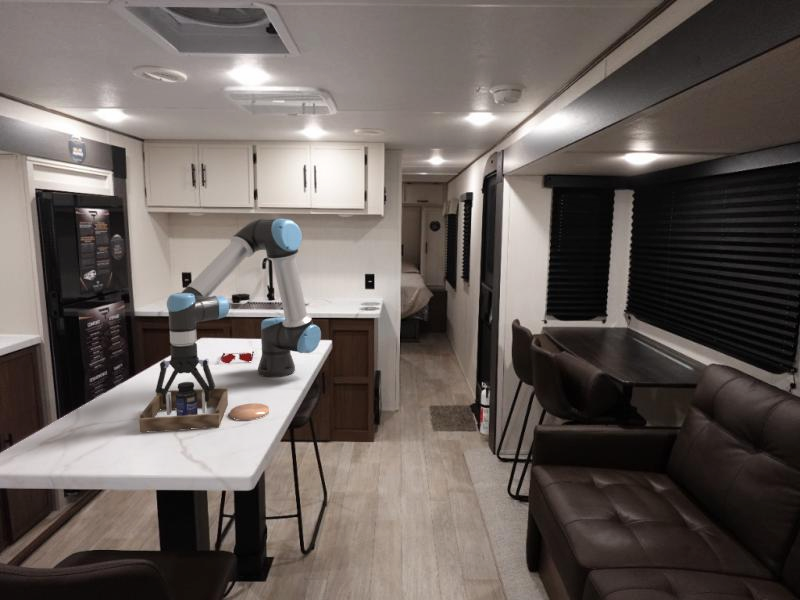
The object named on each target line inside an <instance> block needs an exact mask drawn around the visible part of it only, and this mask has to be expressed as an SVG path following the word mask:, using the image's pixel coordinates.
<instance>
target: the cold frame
mask: <svg viewBox="0 0 800 600" xmlns="http://www.w3.org/2000/svg"><path fill="white" fill-rule="evenodd" d="M193 389H194V390H196V392H197V408H202V392H203V389H202V388H193ZM178 391H179V389H174V390H173V389H172V390H170V389H169V390H168V392H171V408H172V409H173V408H176V393H177V392H178ZM209 396H210V399H209V401H208V402H206V407H216V408H215V413H202V414H201V413H200V414H198V415H184V416H177V415H172V416H171V415H167V416H157V415H158V414H159V412H160V411H161V410H167V406H166V404H163V397H162V394H161V393H156V394H155V396H154V398H153V399H152V400H151V401H150V402H149V404H148V405H147V406H146V407H145V408H144V410H142V412H141V413H140V414H139V419H138V423H139V433H140V432H142V433H148V432H147V431H157V432H166V431H165V430H171V431H181V430H180V429H186V430H192V429H191V428H200V429H205V428H204V427H215V428H220V427H219V426H221V423H222V422H221V421H223V419H224V416H225V414H224V413H226V410H227V408H228V405H229V400H228V398H229V396H228V387H215V388H214V390H210V391H209ZM160 409H161V410H160ZM157 413H158V414H157Z"/></svg>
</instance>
